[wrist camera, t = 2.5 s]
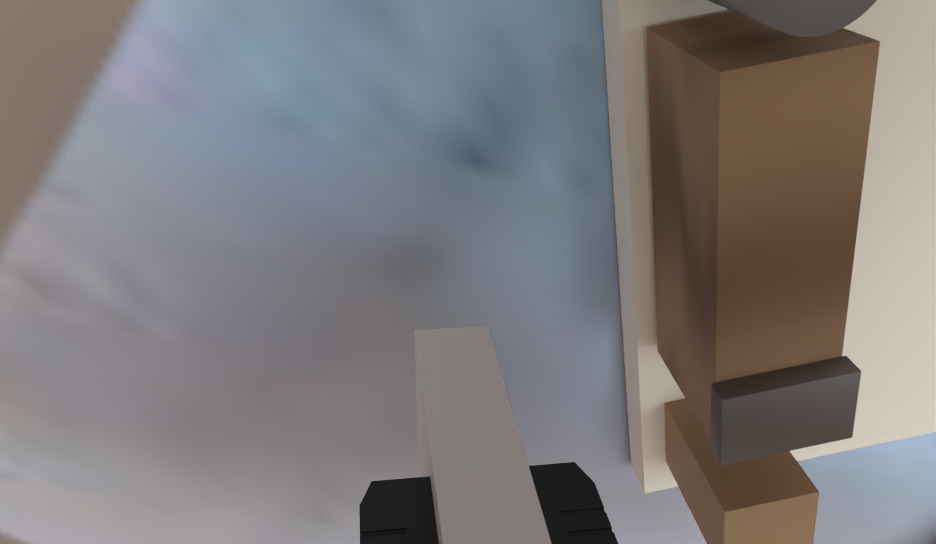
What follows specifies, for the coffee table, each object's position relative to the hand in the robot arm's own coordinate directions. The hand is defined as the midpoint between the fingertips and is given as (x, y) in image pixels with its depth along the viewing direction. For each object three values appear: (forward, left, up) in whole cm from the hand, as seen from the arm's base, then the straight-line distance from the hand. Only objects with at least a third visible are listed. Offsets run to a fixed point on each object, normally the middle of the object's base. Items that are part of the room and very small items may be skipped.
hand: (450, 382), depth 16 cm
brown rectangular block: (-7, -1, -4) cm, 9 cm away
